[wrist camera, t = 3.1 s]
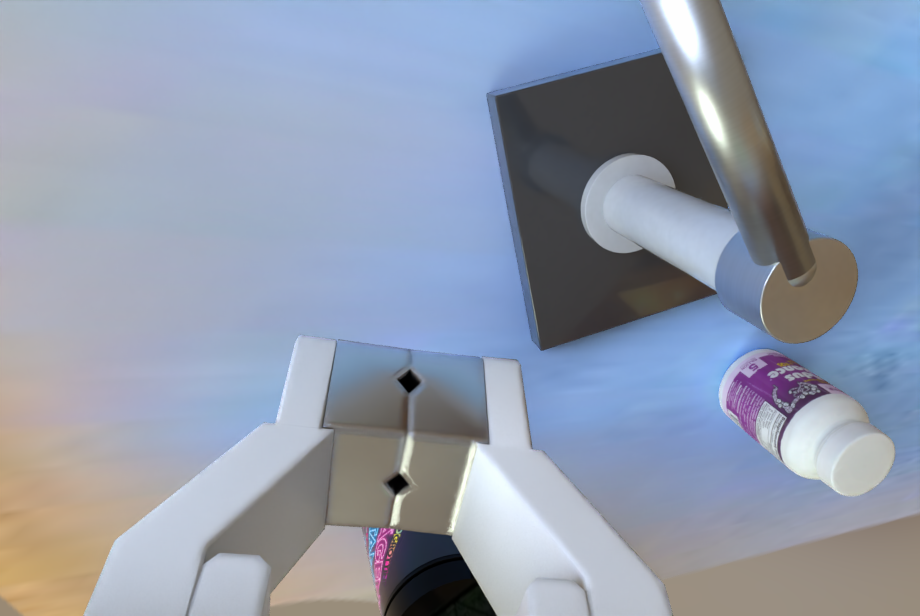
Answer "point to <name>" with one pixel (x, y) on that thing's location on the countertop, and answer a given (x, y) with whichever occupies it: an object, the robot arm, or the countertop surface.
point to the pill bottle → (806, 422)
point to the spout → (751, 184)
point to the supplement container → (422, 575)
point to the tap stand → (607, 197)
